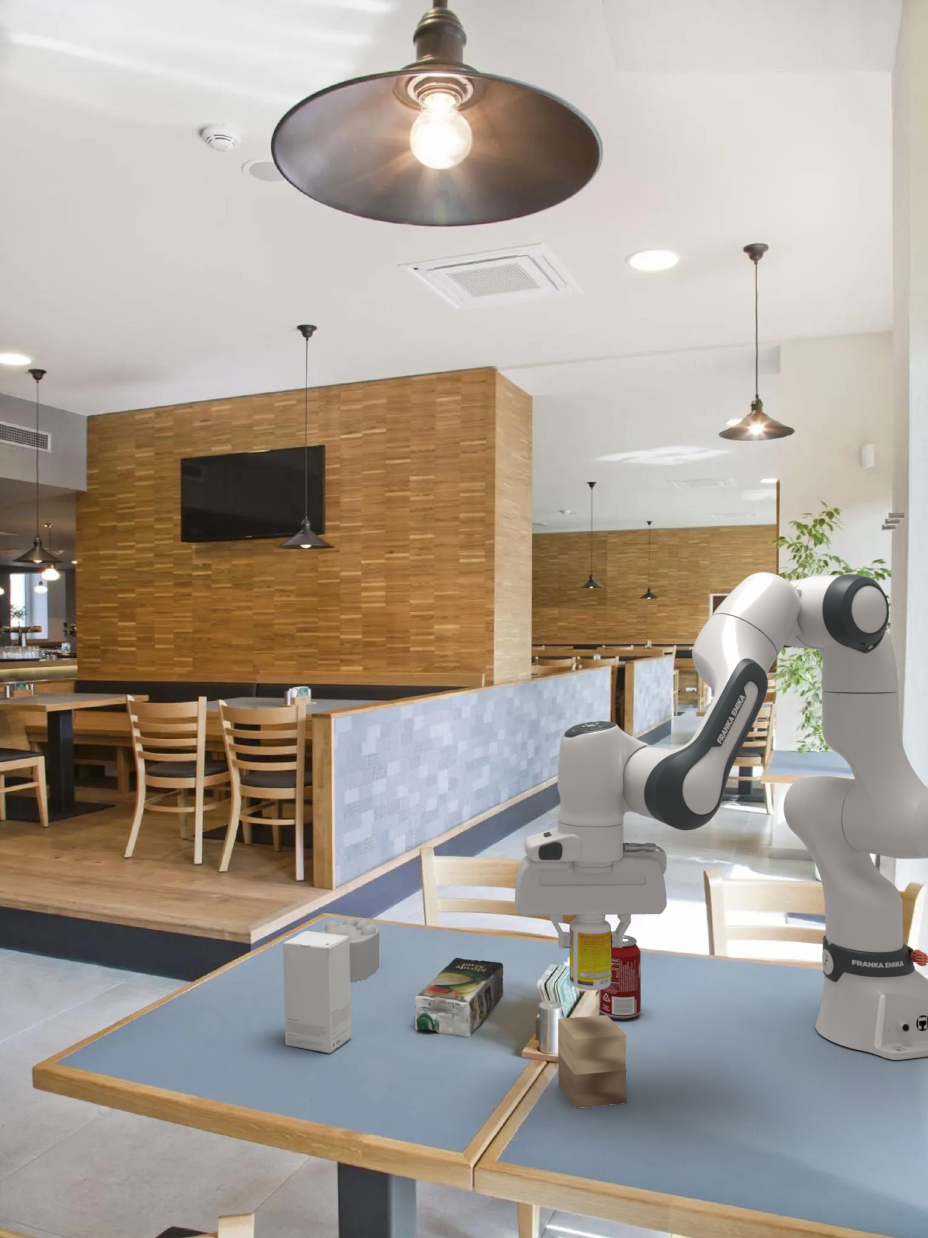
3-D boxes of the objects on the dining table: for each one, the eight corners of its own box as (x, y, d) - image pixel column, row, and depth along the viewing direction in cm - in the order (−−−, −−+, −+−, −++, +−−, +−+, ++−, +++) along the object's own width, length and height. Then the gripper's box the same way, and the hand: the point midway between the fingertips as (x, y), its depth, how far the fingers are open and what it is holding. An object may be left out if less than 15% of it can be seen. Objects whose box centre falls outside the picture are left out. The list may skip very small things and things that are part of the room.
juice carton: (470, 1042, 142) (470, 1000, 143) (410, 1034, 145) (410, 994, 146) (505, 997, 161) (505, 961, 162) (451, 991, 164) (451, 956, 165)
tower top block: (607, 1048, 129) (606, 1015, 129) (625, 1070, 122) (625, 1035, 123) (558, 1052, 128) (558, 1019, 128) (574, 1075, 121) (574, 1039, 121)
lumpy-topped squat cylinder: (309, 978, 169) (309, 929, 169) (339, 956, 182) (339, 911, 182) (362, 984, 166) (362, 935, 166) (389, 961, 179) (389, 915, 179)
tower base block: (606, 1080, 129) (606, 1047, 130) (626, 1104, 123) (626, 1069, 123) (558, 1085, 128) (558, 1052, 128) (575, 1110, 121) (575, 1074, 121)
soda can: (640, 1023, 149) (640, 947, 149) (597, 1020, 150) (597, 944, 151) (641, 1008, 155) (640, 934, 156) (599, 1005, 157) (599, 932, 157)
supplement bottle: (620, 987, 125) (619, 909, 125) (587, 995, 122) (587, 915, 122) (593, 975, 130) (593, 900, 130) (561, 982, 127) (561, 905, 127)
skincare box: (352, 1039, 142) (353, 935, 143) (328, 1056, 136) (329, 948, 137) (306, 1030, 146) (307, 928, 146) (280, 1046, 140) (282, 940, 140)
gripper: (660, 838, 130) (660, 939, 130) (513, 838, 129) (513, 940, 129) (672, 847, 124) (673, 953, 123) (518, 848, 123) (518, 955, 122)
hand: (590, 947), depth 126 cm, fingers closed on supplement bottle, 5 cm apart
